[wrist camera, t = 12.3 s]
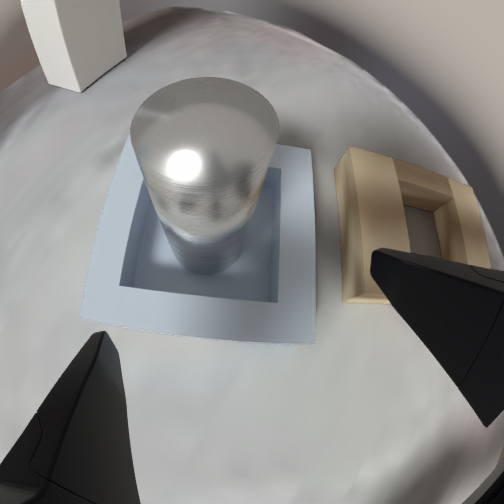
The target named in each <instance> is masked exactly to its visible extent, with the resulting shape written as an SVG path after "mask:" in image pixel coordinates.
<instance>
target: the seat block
mask: <svg viewBox="0 0 504 504" xmlns="http://www.w3.org/2000/svg"><path fill="white" fill-rule="evenodd" d="M315 311H316V247H315V212H314V191H313V173H312V159H311V150H309V149H304V148H298V147H293V146H287V145H281V144H276V146H275V149H274V152H273V155H272V158H271V161H270V164H269V167H268V170H267V173H266V176H265V179H264V182H263V185H262V188H261V191H260V194H259V198H258V201H257V204H256V207H255V210H254V213H253V216H252V219H251V222H250V225H249V228H248V232H247V235H246V238H245V241H244V244H243V247H242V250H241V253H240V255H239V257H238V259H237V260H236V261H235V262H234V263H233V265H231V266H230V267H229V268H228V269H226V270H224V271H222V272H220V273H217V274H212V275H201V274H196V273H193V272H191V271H189V270H187V269H185V268H184V267H183V266H182V265H181V264H180V263H179V262H178V261H177V260H176V258H175V256H174V254H173V252H172V250H171V247H170V245H169V242H168V240H167V238H166V235H165V233H164V230H163V228H162V225H161V223H160V220H159V218H158V215H157V213H156V210H155V208H154V205H153V202H152V200H151V197H150V194H149V192H148V189H147V186H146V184H145V181H144V178H143V175H142V172H141V170H140V167H139V164H138V161H137V158H136V155H135V152H134V149H133V146H132V143H131V137H130V134H129V136H128V138H127V141H126V143H125V146H124V148H123V151H122V153H121V156H120V159H119V161H118V164H117V167H116V170H115V173H114V175H113V178H112V181H111V184H110V187H109V190H108V194H107V197H106V200H105V203H104V207H103V210H102V213H101V217H100V221H99V224H98V228H97V232H96V236H95V240H94V244H93V248H92V253H91V257H90V262H89V266H88V271H87V277H86V282H85V287H84V293H83V300H82V306H81V313H80V318H81V319H85V320H89V321H92V322H96V323H100V324H105V325H111V326H116V327H122V328H127V329H133V330H139V331H146V332H152V333H159V334H166V335H174V336H182V337H191V338H200V339H209V340H220V341H232V342H246V343H263V344H286V345H305V344H315Z"/></svg>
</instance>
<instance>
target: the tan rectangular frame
mask: <svg viewBox="0 0 504 504" xmlns="http://www.w3.org/2000/svg"><path fill="white" fill-rule="evenodd" d="M334 172H335V181H336V191H337V202H338V213H339V227H340V243H341V265H342V302H350V303H376V304H391V303H390V302H389V300H388V299H387V298H386V296H385V295H384V293H383V292H382V291H381V289H380V288H379V287H378V285H377V284H376V282H375V281H374V280H373V278H372V277H371V274H370V264H371V254H372V252H373V251H374V250H376V249H379V248H388V249H393V250H399V251H404V252H409V253H411V250H410V243H409V236H408V229H407V223H406V217H405V212H404V206H403V205H407V206H411V207H415V208H419V209H423V210H427V211H430V212H433V213H434V218H435V223H436V228H437V233H438V238H439V244H440V250H441V257H442V259H445V260H450V261H454V262H459V263H464V264H468V265H474V266H478V267H483V268H488V269H491V264H490V258H489V252H488V247H487V242H486V238H485V233H484V229H483V225H482V221H481V217H480V213H479V209H478V206H477V202H476V199H475V195H474V192H473V189H472V187H469V186H467V185H465V184H462V183H460V182H458V181H455V180H453V179H450V178H448V177H445V176H443V175H440V174H437V173H435V172H432V171H429V170H426V169H424V168H421V167H418V166H415V165H412V164H409V163H406V162H403V161H400V160H397V159H394V158H391V157H387V156H384V155H381V154H377V153H374V152H370V151H367V150H363V149H359V148H355V147H351V146H349V147H348V149H347V150H346V152H345V153H344V155H343V156H342V158H341V159H340V161H339V162H338V164H337V165H336V167H335V168H334Z"/></svg>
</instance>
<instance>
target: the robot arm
mask: <svg viewBox="0 0 504 504" xmlns="http://www.w3.org/2000/svg"><path fill="white" fill-rule="evenodd" d="M370 274H371V277H372V278H373V280H374V281H375V282H376V284H377V285H378V287H379V288H380V289H381V291H382V292H383V293H384V295H385V296H386V298H387V299H388V300H389V302H390V303H391V305H392V306H393V307H394V308H395V310H396V311H397V312H398V313H399V314H400V316H401V317H402V318H403V319H404V320H405V321H406V323H407V324H408V325H409V326H410V327H411V329H412V330H413V331H414V332H415V333H416V335H417V336H418V337H419V338H420V340H421V341H422V342H423V343H424V344H425V346H426V347H427V348H428V349H429V351H430V352H431V353H432V354H433V356H434V357H435V358H436V360H437V361H438V362H439V363H440V365H441V366H442V367H443V369H444V370H445V371H446V373H447V374H448V375H449V376H450V378H451V379H452V381H453V382H454V383H455V385H456V386H457V387H458V389H459V390H460V392H461V393H462V394H463V396H464V397H465V399H466V400H467V401H468V403H469V404H470V406H471V407H472V409H473V410H474V412H475V413H476V414H477V416H478V417H479V419H480V420H481V422H482V423H483V425H484V426H485V427H486V428H487V427H488V426H489V425H490V424H491V423H492V422H493V421H494V420H495V419H496V418H497V416H498V415H499V414H500V413H501V412H502V411H503V410H504V271H499V270H494V269H488V268H483V267H478V266H474V265H468V264H464V263H459V262H454V261H450V260H445V259H440V258H435V257H430V256H425V255H420V254H414V253H409V252H404V251H399V250H393V249H388V248H379V249H376V250H374V251H373V252H372V254H371V264H370ZM0 504H141V503H140V499H139V494H138V489H137V484H136V479H135V473H134V467H133V460H132V454H131V446H130V438H129V429H128V418H127V406H126V397H125V391H124V385H123V379H122V372H121V365H120V358H119V353H118V351H117V349H116V347H115V345H114V344H113V342H112V340H111V338H110V337H109V335H108V333H107V332H106V331H100V332H96V333H93V334H92V335H91V337H90V338H89V339H88V341H87V342H86V343H85V344H84V346H83V347H82V348H81V350H80V351H79V352H78V354H77V355H76V356H75V358H74V359H73V360H72V362H71V363H70V364H69V366H68V367H67V368H66V370H65V371H64V373H63V374H62V375H61V377H60V378H59V379H58V381H57V382H56V384H55V385H54V387H53V388H52V389H51V391H50V392H49V394H48V395H47V397H46V398H45V400H44V401H43V403H42V404H41V406H40V407H39V409H38V410H37V413H35V415H34V416H33V418H32V419H31V421H30V422H29V424H28V425H27V427H26V428H25V430H24V431H23V433H22V434H21V436H20V437H19V439H18V440H17V441H16V443H15V444H14V446H13V447H12V448H11V450H10V451H9V453H8V454H7V455H6V457H5V458H4V460H3V461H2V462H1V464H0ZM462 504H504V458H503V459H502V461H501V462H500V463H499V464H498V466H497V467H496V468H495V469H494V470H493V472H492V473H491V474H490V475H489V476H488V477H487V478H486V480H485V481H484V482H483V483H482V484H481V485H480V486H479V487H478V488H477V489H476V490H475V491H474V492H473V493H472V494H471V495H470V496H469V497H468V498H467V499H466V500H465V501H464V502H463V503H462Z"/></svg>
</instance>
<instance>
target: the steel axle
mask: <svg viewBox="0 0 504 504" xmlns="http://www.w3.org/2000/svg"><path fill="white" fill-rule="evenodd" d="M278 136H279V121H278V117H277V114H276V112H275V110H274V108H273V106H272V105H271V104H270V103H269V101H268V100H267V99H266V98H265V97H264V96H263V95H261V94H260V93H259V92H257V91H256V90H254V89H253V88H251V87H249V86H247V85H245V84H242V83H240V82H237V81H233V80H229V79H224V78H216V77H199V78H191V79H186V80H182V81H178V82H175V83H173V84H170V85H168V86H166V87H164V88H162V89H160V90H158V91H157V92H155V93H154V94H152V95H151V96H150V97H149V98H148V99H147V100H145V101H144V102H143V104H142V105H141V106H140V107H139V109H138V110H137V112H136V113H135V116H134V118H133V120H132V124H131V129H130V137H131V143H132V146H133V149H134V152H135V155H136V158H137V161H138V164H139V167H140V170H141V172H142V175H143V178H144V181H145V184H146V186H147V189H148V192H149V194H150V197H151V200H152V202H153V205H154V208H155V210H156V213H157V215H158V218H159V220H160V223H161V225H162V228H163V230H164V233H165V235H166V238H167V240H168V242H169V245H170V247H171V250H172V252H173V254H174V256H175V258H176V260H177V261H178V262H179V263H180V264H181V265H182V266H183V267H184V268H185V269H187V270H189V271H191V272H193V273H196V274H201V275H212V274H217V273H220V272H222V271H224V270H226V269H228V268H229V267H230V266H231V265H233V263H234V262H235V261H236V260H237V259H238V257H239V255H240V253H241V250H242V247H243V244H244V241H245V238H246V235H247V232H248V228H249V225H250V222H251V219H252V216H253V213H254V210H255V207H256V204H257V201H258V198H259V194H260V191H261V188H262V185H263V182H264V179H265V176H266V173H267V170H268V167H269V164H270V161H271V158H272V155H273V152H274V149H275V146H276V143H277V140H278Z"/></svg>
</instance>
